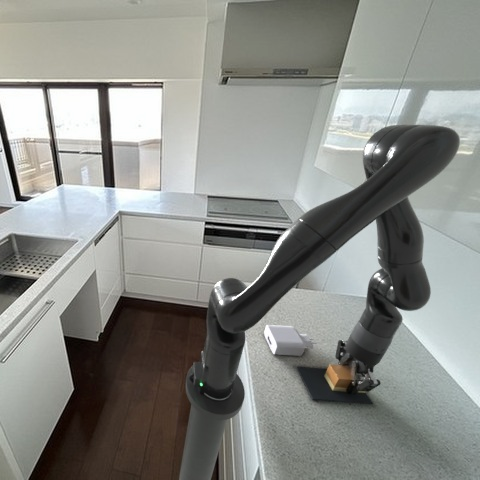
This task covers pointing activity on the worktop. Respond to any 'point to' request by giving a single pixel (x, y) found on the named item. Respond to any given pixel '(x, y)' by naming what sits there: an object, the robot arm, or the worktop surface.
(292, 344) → the charger
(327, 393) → the mat
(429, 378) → the worktop surface
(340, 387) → the brush
